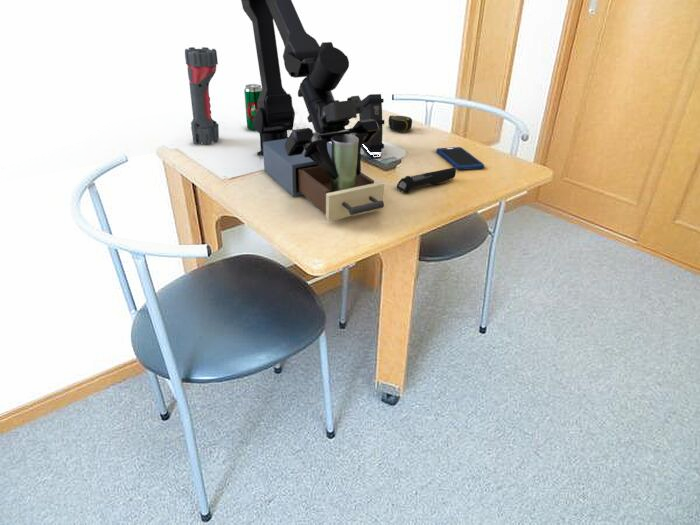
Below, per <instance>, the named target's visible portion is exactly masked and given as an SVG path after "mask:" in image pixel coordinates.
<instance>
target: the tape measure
mask: <svg viewBox="0 0 700 525" xmlns="http://www.w3.org/2000/svg"><path fill="white" fill-rule="evenodd" d="M387 121H388V126H389V127H388V128H389V129H390V130H393V131H397V132H399V133H404V132H407V131H411V129H412V126H413V119H412V117H410V116H406V115H389V116H388V120H387Z"/></svg>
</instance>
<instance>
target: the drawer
mask: <svg viewBox="0 0 700 525" xmlns="http://www.w3.org/2000/svg"><path fill="white" fill-rule="evenodd" d="M298 186H299V191H300V192H301V193H302V194H303V195H302V196H304V197H306V199H308V200H309V201H310V202H311V203H312V204H313V205H315V206H316V207H317V208H318V209H319V210H320V211H322V212H323V213H324V214H325V220H326V221H328V222H331V221H336V220H339V219H340V220H341V219H343V218H348V217H351V216H355V215H360V214H365V213H368V212H373V211H376V210H381V209H383V208H384V207H385V202H384V196H385V195H384V194H385V183H384V182H382V181H379V182H375V180H374V179H372V178H371V177H369V176H368V175H366V173H363V172H362V171H361V173H360V174H359V175H357V176H356V187H354V188H349V189H345V190H340V191H335V192H331V177H330V176H329V175H328V174H327V173H326V172H325V171H324V170H323V169H322V168H321V167H320V166H314V167H308V168H303V169H298Z"/></svg>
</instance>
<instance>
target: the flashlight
mask: <svg viewBox="0 0 700 525" xmlns="http://www.w3.org/2000/svg"><path fill="white" fill-rule="evenodd" d="M184 59H185V65H187V75H188V81H189V82H188V83H189V91H190V92H189V93H190V94H189V95H190V101H191V112H192V121H191V122H190V126H191V127H190V129H191V136H192V143H193V145H197V146H198V145H202V144H204V145H205V146H208V145H211V143H214V144H216V143H218V142H219V139H220V134H219V133H220V131H219V123H218V122H217V121H216V120H214V119H213V118H212V110H211V106H212V105H211V97H210V89H209V86H210V82H211V80H212V79H213V77H214V76H215V74H216V72H217V65H219V63H218V62H219V61H218V51H217V49H215V48H212V49H211V48H209V47H205V46H202V47H201V48H195V47H193V46H191V47H188V48H185V49H184Z"/></svg>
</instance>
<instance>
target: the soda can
mask: <svg viewBox="0 0 700 525" xmlns="http://www.w3.org/2000/svg"><path fill="white" fill-rule="evenodd" d="M261 91H262V85H261V84H257V83H248V84H245V86H244V90H243V93H244V105H245V106H244V107H245V116H246V118H245V119H246V128H247V129H248V130H249V131H250V132H251V131H252V132H257V131H256V130H254V125H253V119H254V117H255V114H256V112H257V110H258V105H257V101H258V98H259V96H260V93H261Z"/></svg>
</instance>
